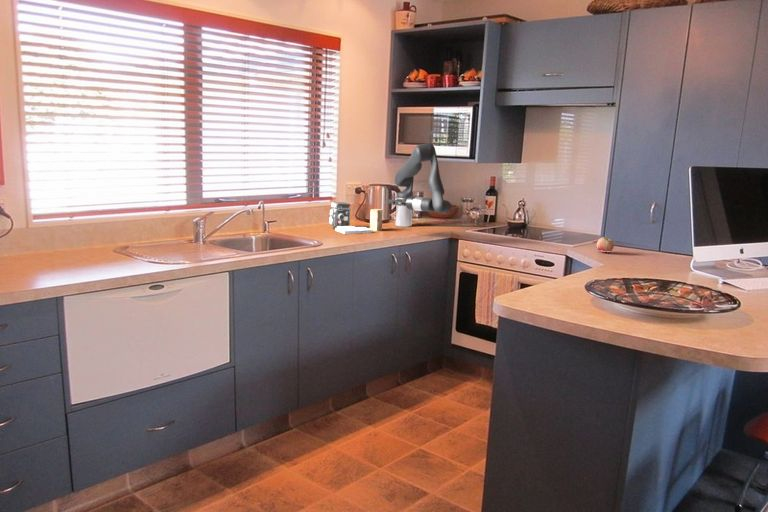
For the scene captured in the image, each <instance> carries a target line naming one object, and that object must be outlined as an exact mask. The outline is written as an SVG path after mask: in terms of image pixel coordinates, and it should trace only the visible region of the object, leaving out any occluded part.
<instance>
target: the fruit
mask: <svg viewBox="0 0 768 512" xmlns="http://www.w3.org/2000/svg"><path fill="white" fill-rule="evenodd" d="M596 248H597V250H603V251H611V252H612V251H613V249H614V248H615V243H614V240H613V239H610V238H608V237H607V236H602V237H600V238H599V239H598V240H597V241H596Z"/></svg>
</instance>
